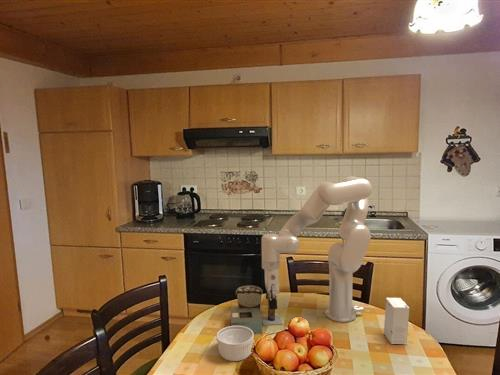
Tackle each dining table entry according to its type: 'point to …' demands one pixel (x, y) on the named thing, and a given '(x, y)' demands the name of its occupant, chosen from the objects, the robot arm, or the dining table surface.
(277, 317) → the rest mat
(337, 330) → the dining table surface
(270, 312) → the brown upright bar
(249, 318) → the switch box
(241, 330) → the ramekin
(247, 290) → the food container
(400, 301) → the skincare box
